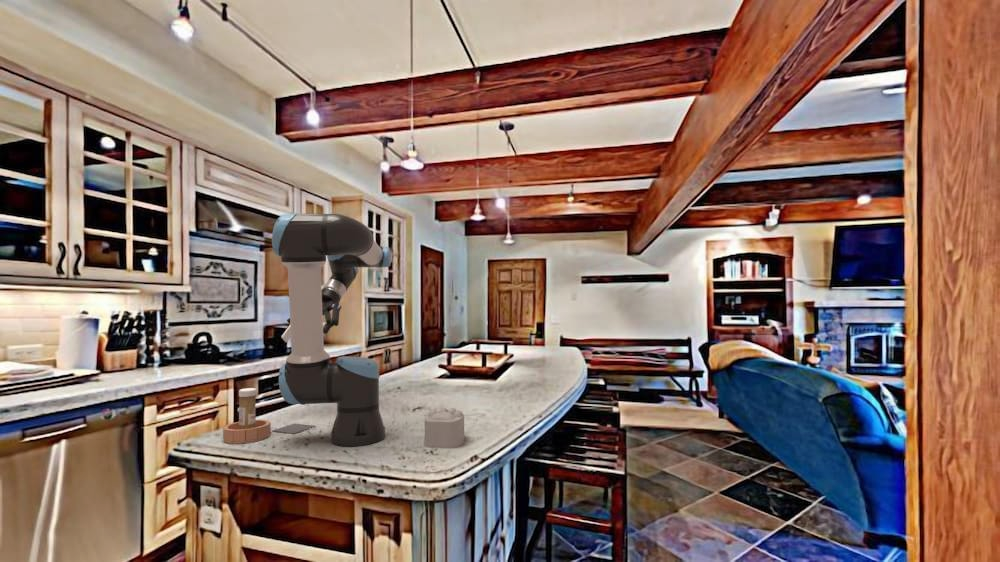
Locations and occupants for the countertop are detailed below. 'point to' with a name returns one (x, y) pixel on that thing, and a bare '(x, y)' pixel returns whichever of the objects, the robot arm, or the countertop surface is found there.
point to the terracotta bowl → (246, 432)
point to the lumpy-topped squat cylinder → (444, 428)
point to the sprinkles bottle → (247, 408)
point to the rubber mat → (293, 428)
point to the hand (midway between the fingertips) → (300, 339)
